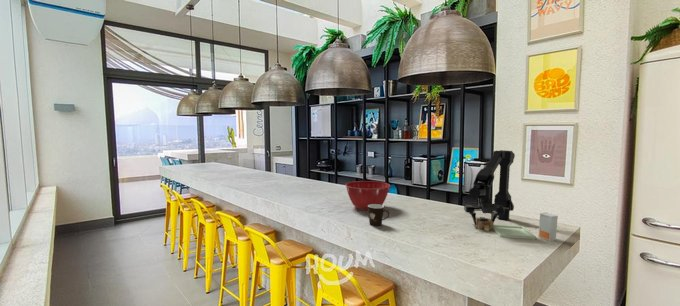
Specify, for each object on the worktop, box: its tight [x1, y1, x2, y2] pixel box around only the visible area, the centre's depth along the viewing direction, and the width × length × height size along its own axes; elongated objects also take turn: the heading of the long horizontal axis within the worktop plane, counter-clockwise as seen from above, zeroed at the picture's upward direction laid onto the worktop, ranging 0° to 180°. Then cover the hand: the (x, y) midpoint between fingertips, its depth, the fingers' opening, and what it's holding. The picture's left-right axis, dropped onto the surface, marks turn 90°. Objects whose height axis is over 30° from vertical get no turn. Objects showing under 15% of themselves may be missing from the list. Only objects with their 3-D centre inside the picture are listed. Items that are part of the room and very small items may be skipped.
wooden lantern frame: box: [476, 217, 495, 232], centre depth 168 cm, size 9×7×4 cm
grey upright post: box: [472, 216, 487, 231], centre depth 169 cm, size 8×8×6 cm
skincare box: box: [537, 212, 559, 242], centre depth 153 cm, size 6×4×12 cm
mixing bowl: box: [345, 180, 391, 211], centre depth 207 cm, size 28×28×16 cm
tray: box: [492, 224, 537, 240], centre depth 161 cm, size 16×16×2 cm
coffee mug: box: [367, 204, 390, 227], centre depth 171 cm, size 12×9×10 cm
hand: (483, 225), depth 169 cm, fingers open, 8 cm apart
